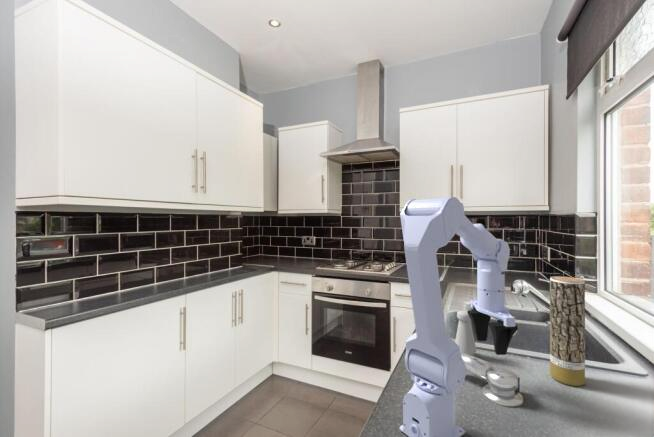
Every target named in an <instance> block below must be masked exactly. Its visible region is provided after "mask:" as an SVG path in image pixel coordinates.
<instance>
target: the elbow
mask: <svg viewBox="0 0 654 437" xmlns="http://www.w3.org/2000/svg"><path fill="white" fill-rule="evenodd" d="M460 354H461V357H462V359H463V360H464V363H465V367H466V372H469V373H471V374H473V375H475V376H477V377H480V378H482V379H484V380H486V381H487V383H488V384H490V385H491V386H493V387H495V388H497V389H500V390H505V391H514V390H517V388H518V377H519V376H518V375H517V374H516V373H515V372H514V371H512V370H510V369H507V368H503V367H497V366H495V367H494V366H493V364H492V363H491V362H489V361H487V360H484V359H481V358H479V357H476V356H475V355H474V356H471V355H468V354H466V353H463V352H460Z"/></svg>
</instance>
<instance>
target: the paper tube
mask: <svg viewBox="0 0 654 437" xmlns="http://www.w3.org/2000/svg"><path fill="white" fill-rule="evenodd" d="M549 348H550V349H549V368H550V370H549V371H550V374H549V375H550V376H551V378H553V380H555V381H557V382H559V383H561V384H563V385H565V386H572V387H581V386H583V385H584V384H585V383H586V283H585V280H584V279H582V278H577V277H572V276H571V277H570V276H559V275H558V276H550V278H549Z"/></svg>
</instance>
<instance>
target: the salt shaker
mask: <svg viewBox="0 0 654 437" xmlns="http://www.w3.org/2000/svg"><path fill="white" fill-rule="evenodd" d="M467 311H468V310H463V309H462V310H459V311H457V312H456V317H457V320H458V323H457V330H456V335H455V340H454V342H455V343H456V344H457V345H458V346H459V347H460V352H463V353H466V354H468V355H471V356H474V357H475V354H476V352H477V347H476V342H475V338H474V333H473V325H472V321H471V319H470V317H469V315H468V313H467Z"/></svg>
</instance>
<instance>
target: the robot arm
mask: <svg viewBox="0 0 654 437" xmlns="http://www.w3.org/2000/svg"><path fill="white" fill-rule="evenodd" d="M399 217H400V224H401V230H402V239H403V242H404V244H403V245H404V246H403V248H404V256H405V261H406V262H405V263H406V270H407V276H408V284H409V290H410V297H411V305H412V312H413V320H414V328H415V332H414V333H412V334H411V335H410V336H409V337H408V339H407V340H406V341H405V349H406V351H405V354H404V355H405V356H404V364H405V368H406V370H407V372H408V373H410V377H411V378H410V379H411V380H412V381H413V385H412V388H411V389H410V390H409V391H408V392H407V393H406V394H405V395H404V396H403V400H402V425H400V426H399V430H400V431H401V432H402V433H404V434H405V435H406V436H408V437H462V436H463V435H465V434H466V430H465V429H464V428H462V427H461V426H459V425H458V424H456V399H455V398H456V395H455V394H456V393H455V392H457V391H458V390H460V389H461V387H462V386H463V384H464V382H465V380H466V379H465V378H466V375H467V371H466V367H465V363H464V360H463V359H462V357H461V354H460V347H459V346H458V345H457V344H456V343H455V340H454V339H453V338H451V336H449V334H448V333H447V330H446V321H445V314H444V313H445V312H444V305H443V298H442V290H441V282H440V274H439V272H440V271H439V266H438V258H437V252H438V251H439V249H441V248H442V247H445V246H447V245H448V243H450V242H451V240H452V239H453V237H454V236H455V235H457V236H459V238H460V239H459V240H460V243H461V244H462V245H463V246H464V247H465V248H467V250H469V251H470V253H471V255H472V258H473V260H474V261H476V265H477V266H476V267H477V270H476V271H477V274H476V275H477V276H476V277H477V278H476V281H477V282H476V285H477V286H476V289H477V290H476V294H477V295H476V296H477V297H476V298H477V299H471V300H470V308H472V309H471V310H470V309H469V310H466V311H467V313H468V315H469V317H470V319H471V325H472V328H473V329H474V333H475V334H474V335H475V339H476V341H477V342H487V339H488V332H489V328H490V331H491V333H492V339H493V347H494V348H493V349H494V353H495V354H496V355H497V356H503V355H504V356H505V355H507V352H508V349H509V346H510V342H511V340H512V338H513V336H514V335H515V334H516V332H517V331H518V329H519V326H518V325H517V324H516V317H514V316H513V315H511V314H510V313H509V312H510V309H509V307H506V305H505V304H506V301H505V300H506V298H505V297H506V296H505V295H506V294H505V292H506V288H505V287H506V286H505V285H506V283H505V282H506V280H505V279H506V276H505V274H506V272H507V269H508V262H509V259H510V252H511V251H510V246H509V243H508V242H507V241H505V240H504V239H502V238H496V237H495V236H494V235H493V234H492V233H491V232H490V231H488V230H487V229H486V228H485V226H484V224H482V223H473V222H471V220H470V219H469V218H468V217H467V216H466V215H465V207H464V203H462V202H461V201H460V200H459V198H457V197H456V196H448V197H441V198H423V199H417V198H415V199H414V198H411V199H410V200H407V202H406V203H405V205H404V206H403V208H402V209H401V212H400V213H399ZM491 318H492V319H494V320H496V321H491Z"/></svg>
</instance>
